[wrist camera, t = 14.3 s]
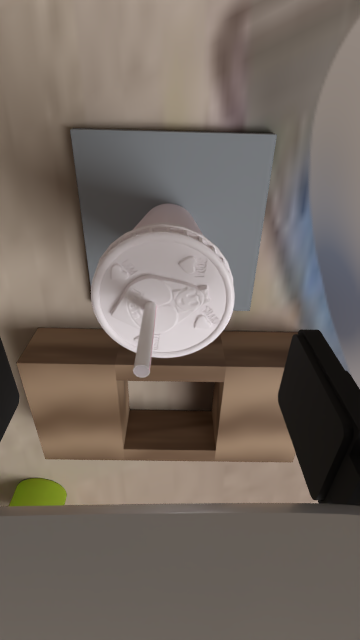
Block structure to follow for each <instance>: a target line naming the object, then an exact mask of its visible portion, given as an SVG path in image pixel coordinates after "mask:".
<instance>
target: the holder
mask: <svg viewBox="0 0 360 640" xmlns="http://www.w3.org/2000/svg"><path fill="white" fill-rule="evenodd" d="M294 334H298V333H297V332H241V331H222V333H221V334H220V335H219V336H218V337H217V338H216V339H215V340H214V341H213V342H211V343H210V344H209V345H207V346H205V347H204V348H202V349H200V350H198V351H196V352H194V353H191V354H188V355H184V356H180V357H173V358H157V357H151V366H150V374H149V375H148V376H147V377H143V378H141V377H137V376H136V375H135V374H134V372H133V369H134V363H135V357H136V353H135V352H133V351H131V350H129V349H127V348H125V347H123V346H121V345H120V344H118V343H117V342H116V341H114V340H113V339H112V338H111V337H110V336H109V335H108V334H107V333H106V332H105V330H104V329H75V328H38V329H37V331H36V332H35V334H34V335H33V337H32V339H31V340H30V342H29V344H28V345H27V347H26V348H25V350H24V352H23V353H22V355H21V356H20V358H19V360H18V361H17V363H16V364H17V367H18V370H19V373H20V377H21V380H22V383H23V387H24V390H25V393H26V397H27V400H28V403H29V406H30V410H31V413H32V416H33V420H34V423H35V426H36V430H37V433H38V436H39V439H40V443H41V446H42V449H43V453H44V456H45V459H74V460H151V461H229V462H293V459H294V456H295V453H296V452H295V449H294V447H293V444H292V441H291V438H290V435H289V432H288V429H287V427H286V424H285V421H284V418H283V415H282V412H281V409H280V407H279V403H278V391H279V388H280V384H281V380H282V376H283V372H284V368H285V364H286V360H287V356H288V352H289V348H290V344H291V340H292V336H293V335H294ZM128 381H184V382H215V384H214V394H213V403H212V411H173V410H130V406H129V394H128Z"/></svg>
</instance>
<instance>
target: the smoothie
mask: <svg viewBox="0 0 360 640" xmlns="http://www.w3.org/2000/svg"><path fill="white" fill-rule="evenodd" d="M234 300H235V293H234V286H233V276H232V273H231V270H230V267H229V264H228V262H227V260H226V259H225V257H224V256H223V254H222V253H221V252H220V250H219V249H218V247H217V246H215V245H214V244H213V243H212V242H210V241H209V240H208V239H207V238H206V237H204V236H203V234H202V232H201V231H200V229H199V227H198V226H197V224H196V222H195V221H194V219H193V218H192V216H191V215H190V213H189V212H188V211H187V210H186V209H184V208H183V207H181V206H179V205H176V204H170V203H166V204H161V205H158V206H156V207H154V208H152V209H151V210H150V211H149V212H148V213H147V214H146V215H145V216H144V217H143V219H142V220H141V221H140V222H139V223H138V224H137V225H136V227H135V228H134V229H133V230H132V231H129V232H127V233H125V234H123V235H122V236H121V237H119V238H118V239H117V240H115V241H114V242H113V243H112V244H110V246H109V247H108V248H107V250H106V251H105V252H104V254H103V255H102V256H101V258H100V259H99V262H98V265H97V268H96V271H95V274H94V277H93V280H92V285H91V301H92V307H93V310H94V313H95V316H96V318H97V320H98V322H99V323H100V325H101V327H102V328H103V329H104V330H105V332H106V333H107V334H108V335H109V336H110V337H111V338H112V339H113V340H114V341H116V342H117V343H118V344H120V345H121V346H123V347H125V348H127V349H129V350H131V351H133V352H135V353H136V357H135V363H134V369H133V372H134V374H135V375H136V376H137V377H141V378H143V377H147V376H148V375H149V374H150V366H151V357H157V358H173V357H180V356H184V355H188V354H191V353H194V352H196V351H198V350H200V349H202V348H204V347H205V346H207V345H209V344H210V343H211V342H213V341H214V340H215V339H216V338H217V337H218V336H219V335H220V334H221V333H222V331H223V330H224V329H225V327H226V325H227V324H228V322H229V320H230V318H231V315H232V312H233V307H234Z"/></svg>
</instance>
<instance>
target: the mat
mask: <svg viewBox="0 0 360 640" xmlns="http://www.w3.org/2000/svg"><path fill="white" fill-rule="evenodd" d="M70 132H71V140H72V147H73V155H74V162H75V170H76V178H77V185H78V193H79V201H80V208H81V216H82V223H83V231H84V239H85V246H86V254H87V261H88V269H89V277H90V284H91V285H92V280H93V277H94V274H95V271H96V268H97V265H98V262H99V259H100V258H101V256H102V255H103V254H104V252H105V251H106V250H107V248H108V247H109V246H110V244H112V243H113V242H114V241H115V240H117V239H118V238H119V237H121V236H122V235H123V234H125V233H127V232H129V231H132V230H133V229H134V228H135V227H136V225H137V224H138V223H139V222H140V221H141V220H142V219H143V217H144V216H145V215H146V214H147V213H148V212H149V211H150V210H151V209H152V208H154V207H156V206H158V205H161V204H166V203H170V204H176V205H179V206H181V207H183V208H184V209H186V210H187V211H188V212H189V213H190V215H191V216H192V218H193V219H194V221H195V222H196V224H197V226H198V227H199V229H200V231H201V232H202V234H203V236H204V237H206V238H207V239H208V240H209V241H210V242H212V243H213V244H214V245H215V246H217V247H218V249H219V250H220V252H221V253H222V254H223V256H224V257H225V259H226V260H227V262H228V264H229V267H230V270H231V273H232V276H233V286H234V293H235V300H234V307H233V310H235V311H250V306H251V299H252V293H253V286H254V280H255V273H256V267H257V260H258V254H259V247H260V241H261V234H262V228H263V221H264V215H265V208H266V202H267V195H268V189H269V182H270V176H271V170H272V163H273V157H274V150H275V144H276V137H277V134H274V133H237V132H198V131H159V130H120V129H81V128H73V129H70Z"/></svg>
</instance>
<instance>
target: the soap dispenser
mask: <svg viewBox="0 0 360 640" xmlns="http://www.w3.org/2000/svg"><path fill="white" fill-rule="evenodd" d="M66 496H67V494H66V491H65V490H64V488H63V487H62V486H60V485H59V484H57V483H55V482H53V481H50V480H47V479H41V478H32V479H27V480H24V481H22V482H20V483H19V484H18V486H17V488H16V490H15V492H14V495H13V497H12V499H11V502H10V504H9V506H55V505H64V504H65V500H66Z"/></svg>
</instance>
